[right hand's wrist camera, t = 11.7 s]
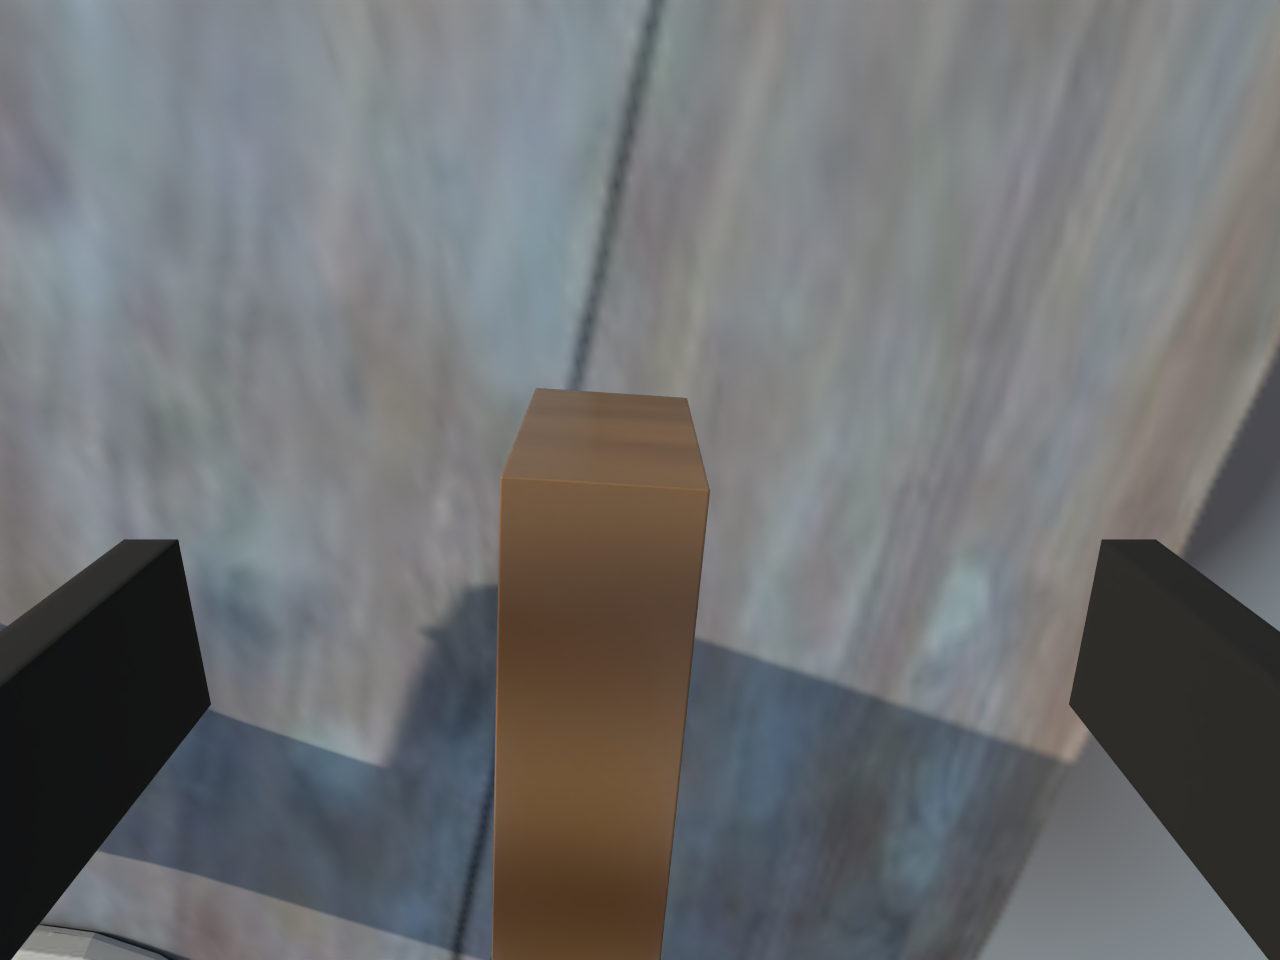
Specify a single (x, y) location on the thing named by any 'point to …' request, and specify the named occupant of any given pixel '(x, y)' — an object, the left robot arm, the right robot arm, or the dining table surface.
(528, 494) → the bar
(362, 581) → the dining table surface
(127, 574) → the right robot arm
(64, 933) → the wall clock
